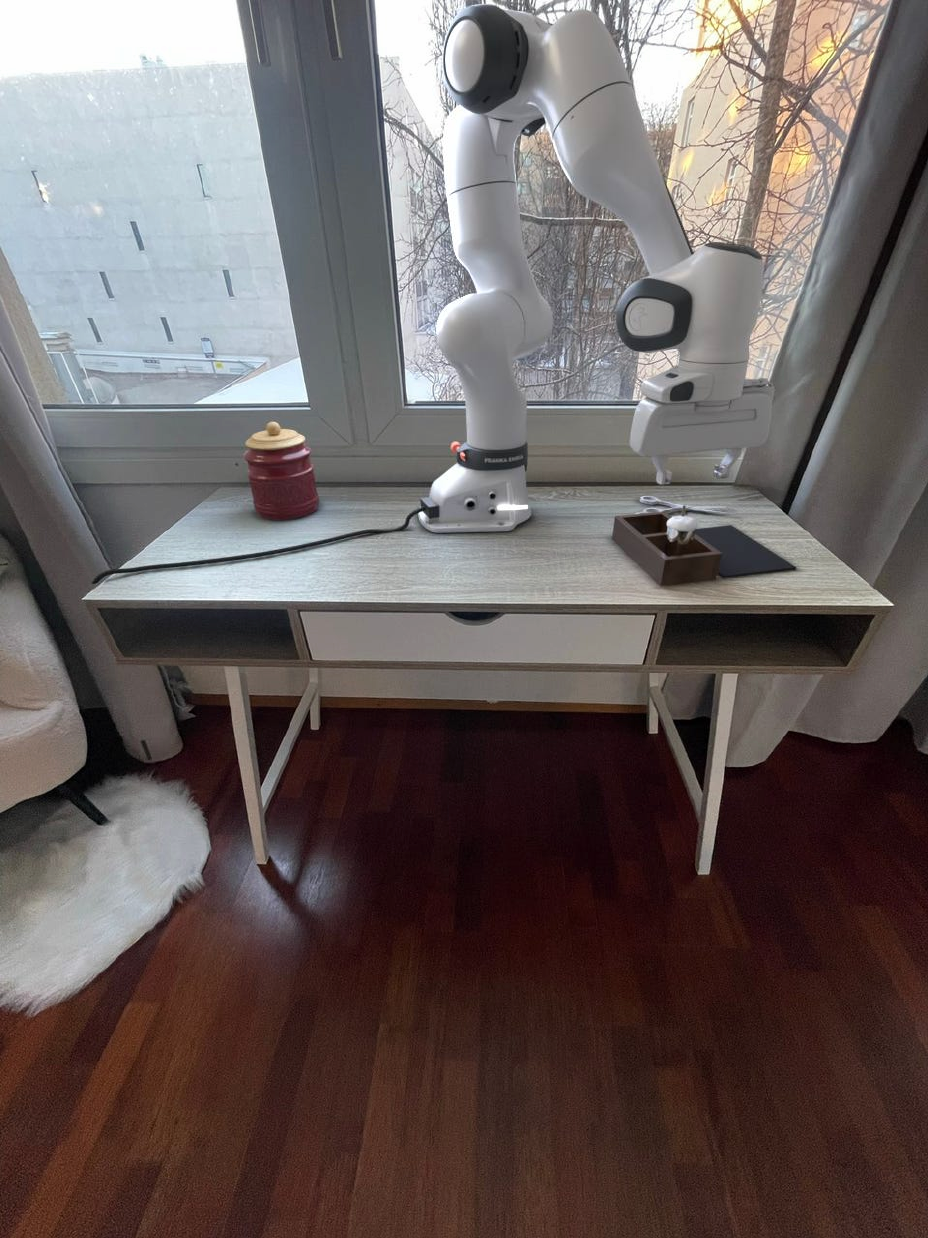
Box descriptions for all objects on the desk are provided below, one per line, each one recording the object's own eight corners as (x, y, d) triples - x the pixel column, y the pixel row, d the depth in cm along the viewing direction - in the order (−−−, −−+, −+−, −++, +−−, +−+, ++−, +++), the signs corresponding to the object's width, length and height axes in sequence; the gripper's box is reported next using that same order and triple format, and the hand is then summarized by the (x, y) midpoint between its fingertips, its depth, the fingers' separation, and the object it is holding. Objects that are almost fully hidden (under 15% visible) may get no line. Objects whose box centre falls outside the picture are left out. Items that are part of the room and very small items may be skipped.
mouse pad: (723, 578, 93) (723, 576, 93) (666, 533, 108) (667, 531, 108) (795, 569, 95) (796, 567, 95) (730, 527, 110) (731, 525, 110)
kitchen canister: (311, 521, 117) (296, 430, 107) (246, 521, 117) (226, 430, 108) (326, 498, 128) (313, 413, 118) (266, 498, 128) (249, 414, 119)
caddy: (660, 586, 91) (665, 560, 89) (611, 539, 107) (614, 516, 104) (716, 579, 93) (722, 553, 91) (660, 534, 108) (664, 511, 106)
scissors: (632, 495, 123) (734, 499, 120) (632, 498, 124) (733, 503, 120) (634, 513, 115) (744, 519, 111) (634, 517, 115) (743, 523, 111)
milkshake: (688, 564, 98) (700, 506, 92) (687, 578, 93) (699, 519, 88) (659, 560, 99) (669, 503, 94) (657, 574, 95) (668, 515, 89)
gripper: (762, 373, 85) (742, 467, 92) (630, 382, 82) (620, 479, 89) (791, 380, 80) (767, 480, 87) (652, 390, 77) (639, 493, 84)
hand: (692, 480), depth 88 cm, fingers open, 8 cm apart
